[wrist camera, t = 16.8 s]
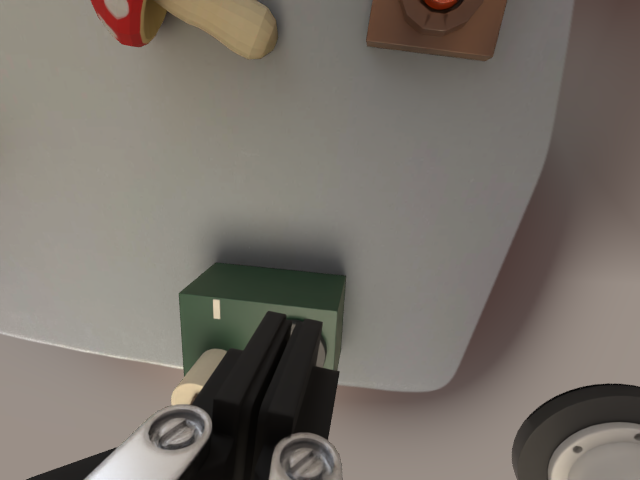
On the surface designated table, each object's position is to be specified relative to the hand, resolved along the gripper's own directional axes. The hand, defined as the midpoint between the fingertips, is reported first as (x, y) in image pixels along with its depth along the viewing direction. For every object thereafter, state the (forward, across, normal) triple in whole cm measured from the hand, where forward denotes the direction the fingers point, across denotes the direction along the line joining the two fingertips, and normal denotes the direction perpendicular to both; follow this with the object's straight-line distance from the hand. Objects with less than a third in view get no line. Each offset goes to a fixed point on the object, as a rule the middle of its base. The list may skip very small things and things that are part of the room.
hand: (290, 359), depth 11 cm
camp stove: (+27, +6, +13) cm, 31 cm away
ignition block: (+27, -4, -17) cm, 32 cm away
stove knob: (+19, +9, +16) cm, 27 cm away
